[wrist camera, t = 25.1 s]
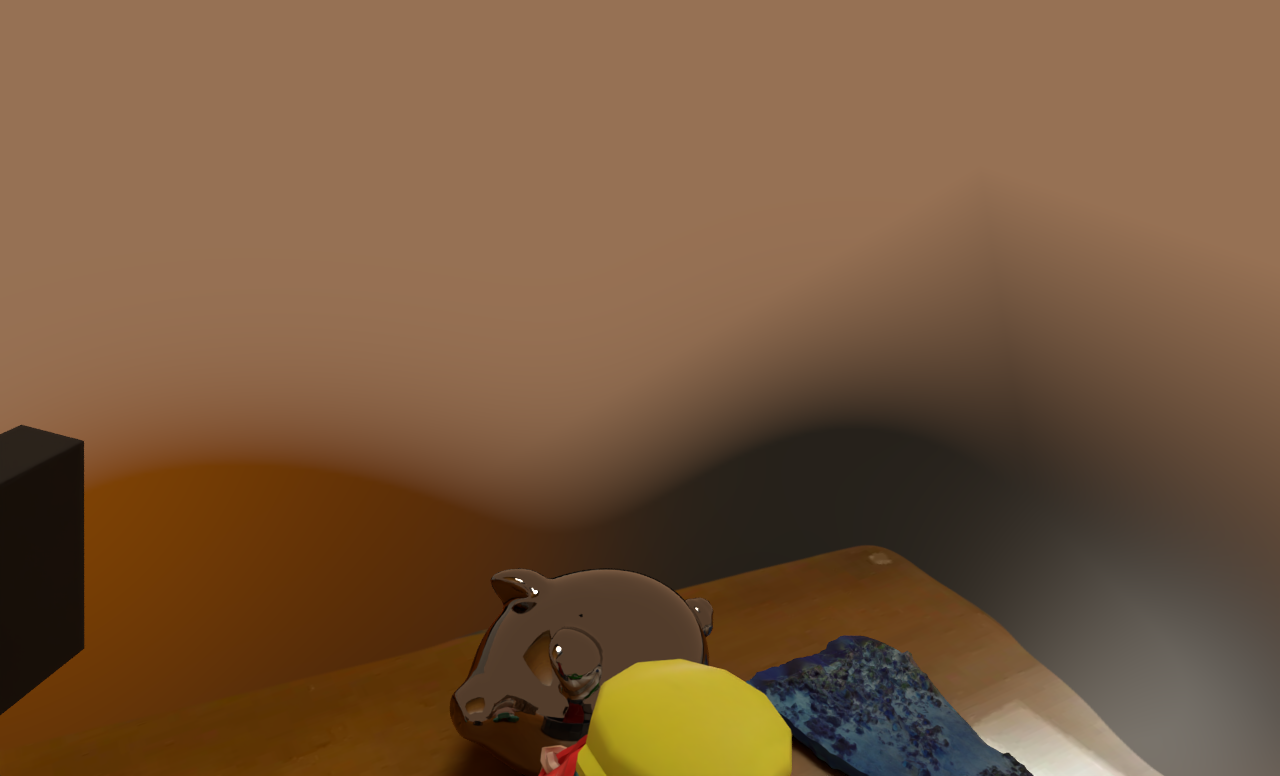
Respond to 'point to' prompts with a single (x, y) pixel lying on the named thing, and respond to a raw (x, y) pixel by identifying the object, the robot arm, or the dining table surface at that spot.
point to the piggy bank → (567, 655)
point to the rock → (877, 714)
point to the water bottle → (677, 727)
